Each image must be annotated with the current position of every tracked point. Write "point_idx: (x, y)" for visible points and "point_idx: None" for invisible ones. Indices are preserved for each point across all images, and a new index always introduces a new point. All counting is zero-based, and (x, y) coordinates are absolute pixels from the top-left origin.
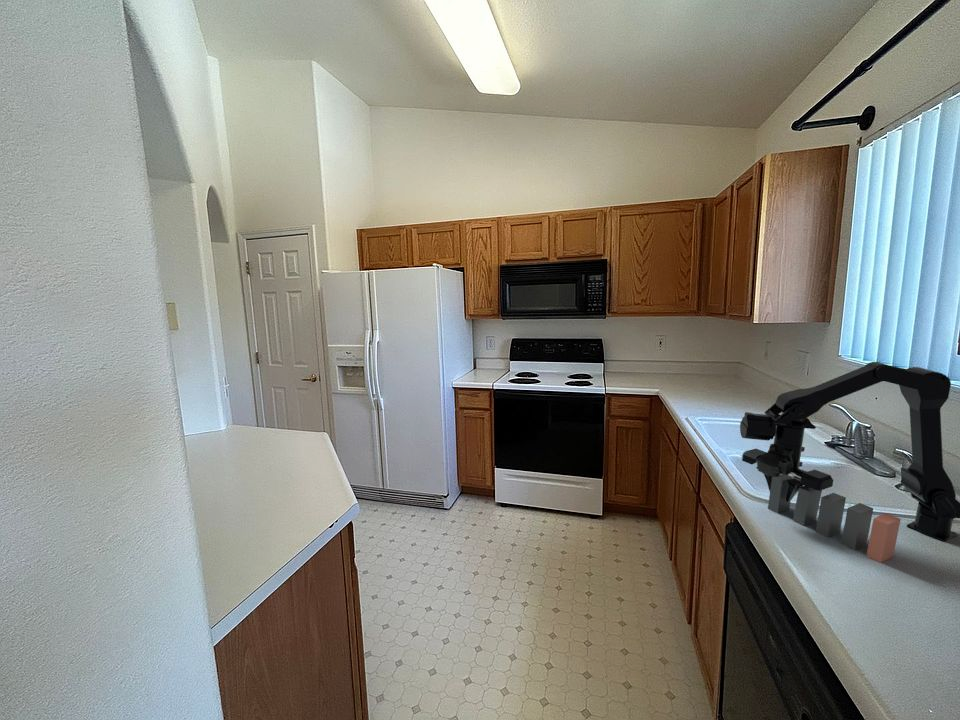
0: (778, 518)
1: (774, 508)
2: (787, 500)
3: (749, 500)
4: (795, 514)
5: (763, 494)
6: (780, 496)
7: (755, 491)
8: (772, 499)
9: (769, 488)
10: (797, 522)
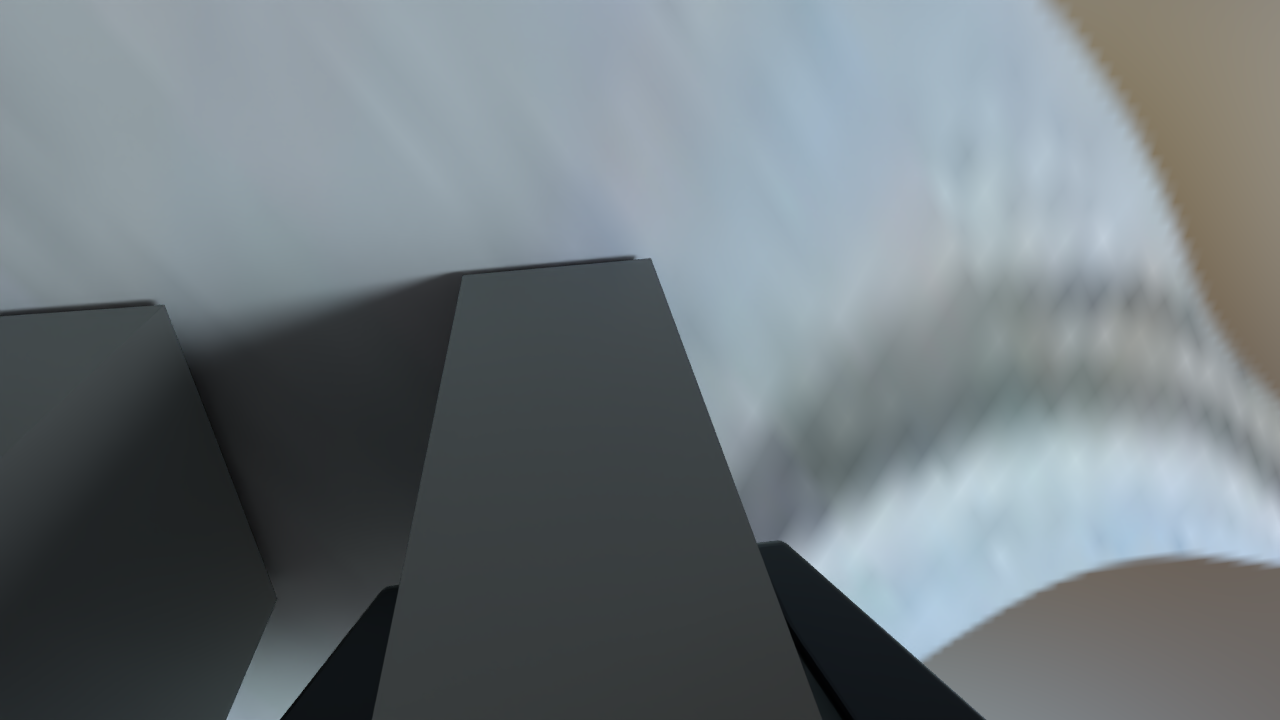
0: (315, 121)
1: (527, 295)
2: (379, 611)
3: (994, 225)
4: (44, 380)
5: (948, 580)
6: (418, 551)
7: (1055, 552)
8: (608, 385)
9: (869, 638)
10: (78, 313)
